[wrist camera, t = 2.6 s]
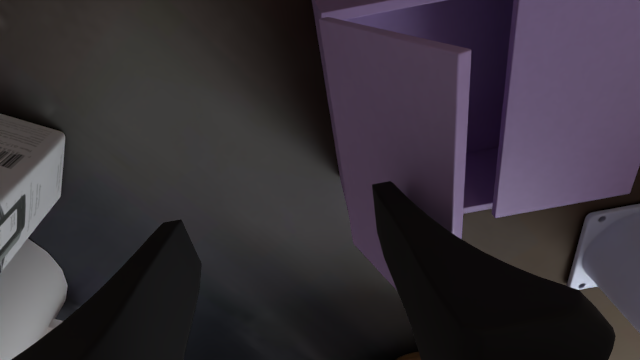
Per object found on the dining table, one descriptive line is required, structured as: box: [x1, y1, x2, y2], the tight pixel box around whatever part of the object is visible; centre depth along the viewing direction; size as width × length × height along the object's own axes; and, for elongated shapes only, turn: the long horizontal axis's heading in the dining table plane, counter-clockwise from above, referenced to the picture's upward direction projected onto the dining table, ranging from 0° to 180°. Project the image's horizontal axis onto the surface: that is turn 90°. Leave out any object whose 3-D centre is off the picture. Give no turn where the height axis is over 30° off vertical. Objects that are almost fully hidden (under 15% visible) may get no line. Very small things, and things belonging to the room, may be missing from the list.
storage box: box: [312, 0, 640, 218], centre depth 19 cm, size 14×11×6 cm
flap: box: [319, 17, 471, 290], centre depth 14 cm, size 7×11×1 cm
